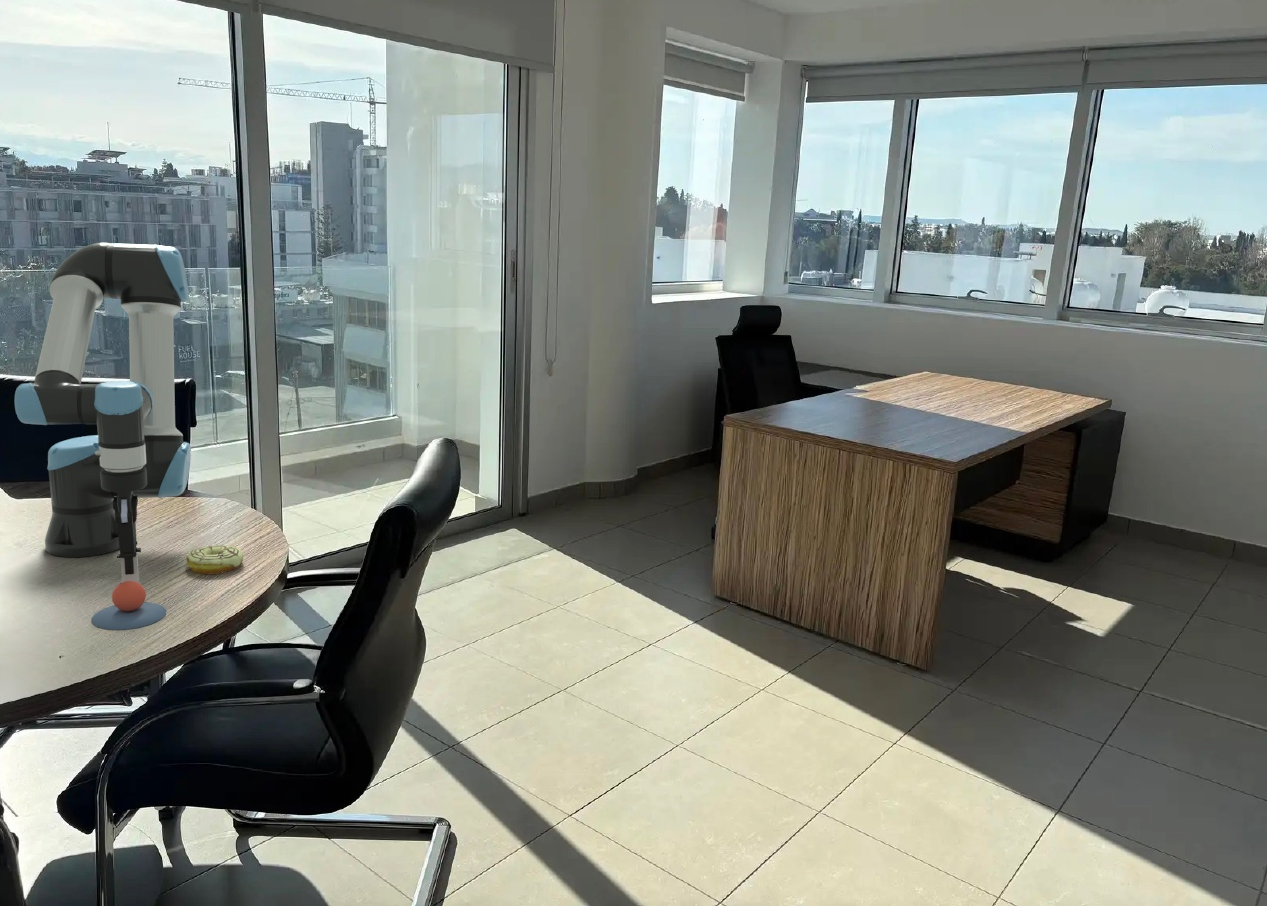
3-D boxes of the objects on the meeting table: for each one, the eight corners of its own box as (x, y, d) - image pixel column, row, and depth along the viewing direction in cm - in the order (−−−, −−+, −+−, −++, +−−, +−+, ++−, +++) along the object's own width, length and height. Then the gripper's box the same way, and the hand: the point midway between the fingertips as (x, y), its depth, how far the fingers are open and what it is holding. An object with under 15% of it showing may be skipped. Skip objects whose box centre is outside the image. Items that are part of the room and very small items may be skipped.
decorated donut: (249, 571, 200) (248, 554, 199) (193, 580, 194) (192, 562, 193) (235, 555, 208) (235, 539, 207) (182, 563, 202) (181, 546, 201)
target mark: (85, 611, 176) (85, 610, 176) (156, 598, 183) (156, 597, 183) (99, 635, 167) (99, 634, 167) (174, 620, 174) (174, 619, 174)
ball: (106, 589, 173) (108, 616, 175) (139, 590, 174) (141, 617, 176) (117, 575, 178) (119, 601, 180) (149, 576, 179) (150, 602, 181)
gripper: (102, 459, 181) (110, 577, 187) (97, 477, 170) (106, 603, 175) (147, 457, 184) (154, 573, 190) (144, 475, 173) (152, 598, 178)
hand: (131, 587), depth 183 cm, fingers closed
